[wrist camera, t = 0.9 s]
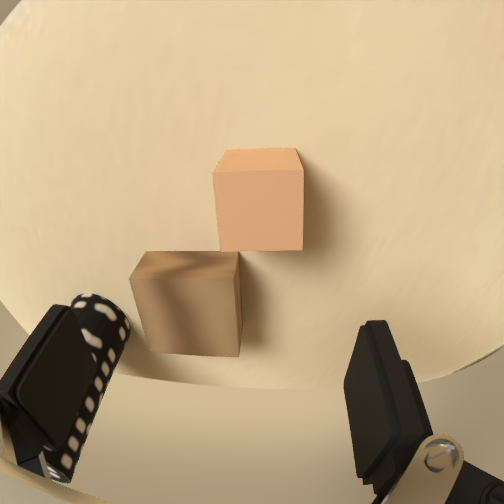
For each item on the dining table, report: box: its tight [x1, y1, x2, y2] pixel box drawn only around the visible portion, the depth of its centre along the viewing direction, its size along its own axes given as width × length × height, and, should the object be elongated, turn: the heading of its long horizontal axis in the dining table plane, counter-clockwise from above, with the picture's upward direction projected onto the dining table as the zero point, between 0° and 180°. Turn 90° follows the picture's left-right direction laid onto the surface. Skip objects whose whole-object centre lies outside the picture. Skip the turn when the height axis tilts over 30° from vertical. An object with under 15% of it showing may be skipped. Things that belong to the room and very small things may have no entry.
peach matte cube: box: [212, 148, 304, 252], centre depth 23 cm, size 6×6×7 cm
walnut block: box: [129, 251, 242, 357], centre depth 30 cm, size 9×9×5 cm
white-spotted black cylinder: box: [42, 294, 130, 483], centre depth 27 cm, size 8×8×20 cm
